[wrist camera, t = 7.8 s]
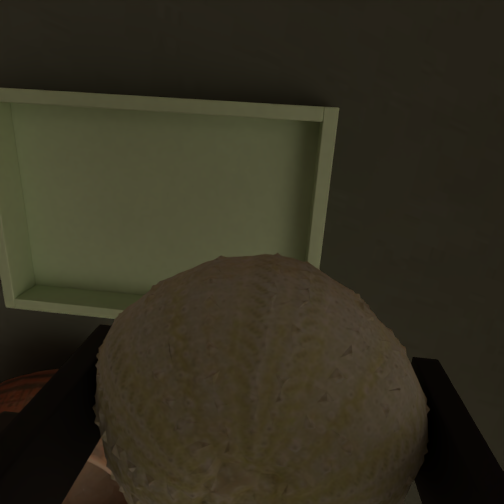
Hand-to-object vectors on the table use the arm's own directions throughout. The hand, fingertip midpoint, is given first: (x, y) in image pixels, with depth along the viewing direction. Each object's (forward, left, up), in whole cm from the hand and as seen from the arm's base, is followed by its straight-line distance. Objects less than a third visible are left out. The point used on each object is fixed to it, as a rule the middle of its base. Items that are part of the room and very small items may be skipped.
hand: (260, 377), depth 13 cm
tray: (+6, -5, -15) cm, 17 cm away
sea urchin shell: (0, 0, 0) cm, 0 cm away
